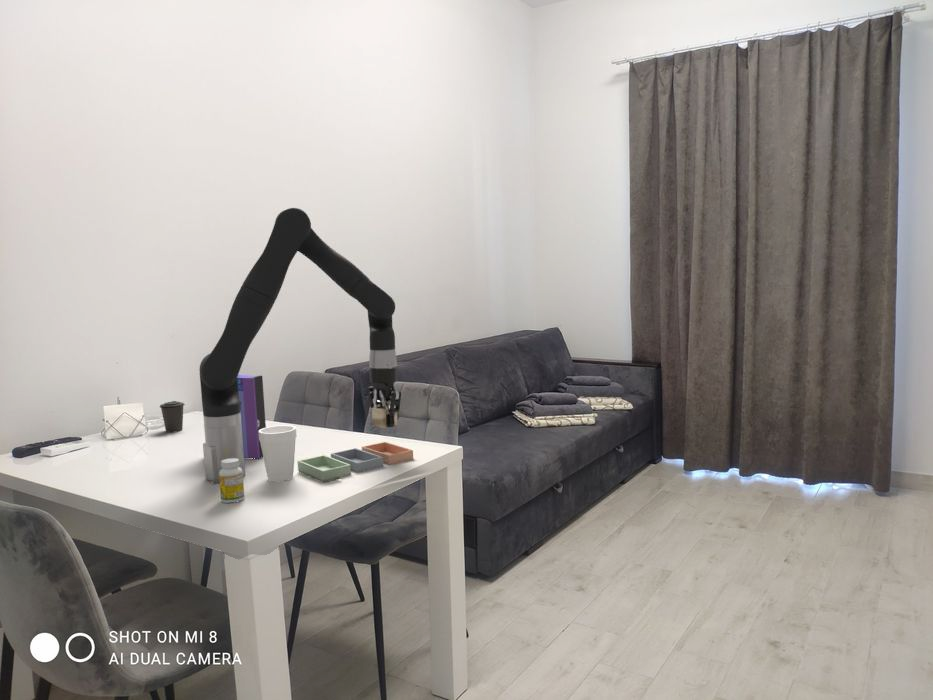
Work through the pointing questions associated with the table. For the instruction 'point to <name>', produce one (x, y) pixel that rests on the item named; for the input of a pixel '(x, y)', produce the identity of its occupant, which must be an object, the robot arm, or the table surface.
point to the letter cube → (381, 417)
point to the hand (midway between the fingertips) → (385, 425)
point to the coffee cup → (172, 415)
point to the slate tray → (358, 459)
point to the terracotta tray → (389, 452)
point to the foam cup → (278, 451)
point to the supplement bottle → (231, 481)
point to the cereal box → (251, 413)
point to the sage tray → (324, 468)
